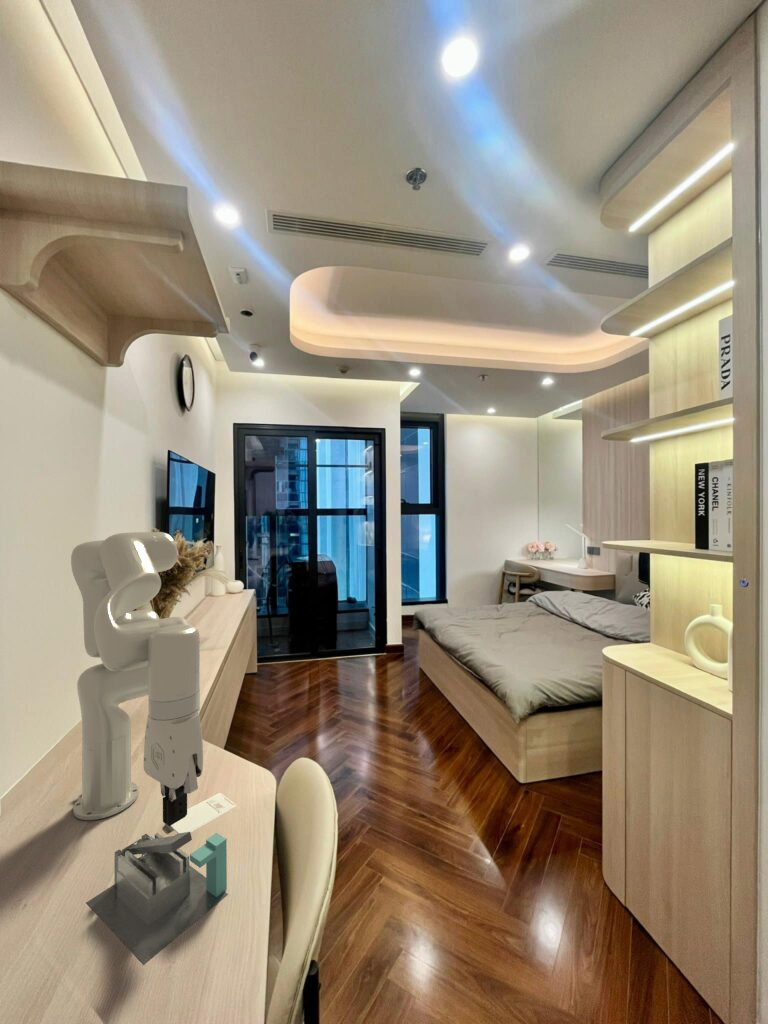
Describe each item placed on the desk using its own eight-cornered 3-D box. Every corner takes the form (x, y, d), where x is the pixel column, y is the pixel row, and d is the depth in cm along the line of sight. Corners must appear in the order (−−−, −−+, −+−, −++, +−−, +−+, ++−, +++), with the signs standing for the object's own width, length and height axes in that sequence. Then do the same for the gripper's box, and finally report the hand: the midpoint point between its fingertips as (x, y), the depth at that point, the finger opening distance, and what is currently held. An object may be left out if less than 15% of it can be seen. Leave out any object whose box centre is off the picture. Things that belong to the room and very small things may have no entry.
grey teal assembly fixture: (86, 908, 72) (86, 863, 72) (168, 854, 84) (168, 815, 84) (143, 971, 62) (143, 918, 62) (228, 900, 73) (228, 855, 74)
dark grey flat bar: (122, 858, 76) (120, 849, 77) (140, 847, 79) (139, 838, 79) (173, 853, 68) (170, 843, 68) (192, 840, 70) (190, 830, 71)
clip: (190, 902, 72) (189, 850, 72) (216, 881, 76) (216, 832, 76) (200, 910, 70) (199, 857, 71) (226, 889, 75) (226, 839, 75)
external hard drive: (164, 827, 92) (219, 798, 102) (182, 845, 87) (238, 813, 96) (164, 819, 92) (219, 791, 102) (182, 837, 87) (238, 805, 96)
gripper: (127, 702, 72) (127, 815, 71) (178, 724, 63) (179, 853, 63) (171, 687, 78) (171, 791, 78) (223, 706, 70) (224, 823, 69)
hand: (175, 819), depth 70 cm, fingers closed
